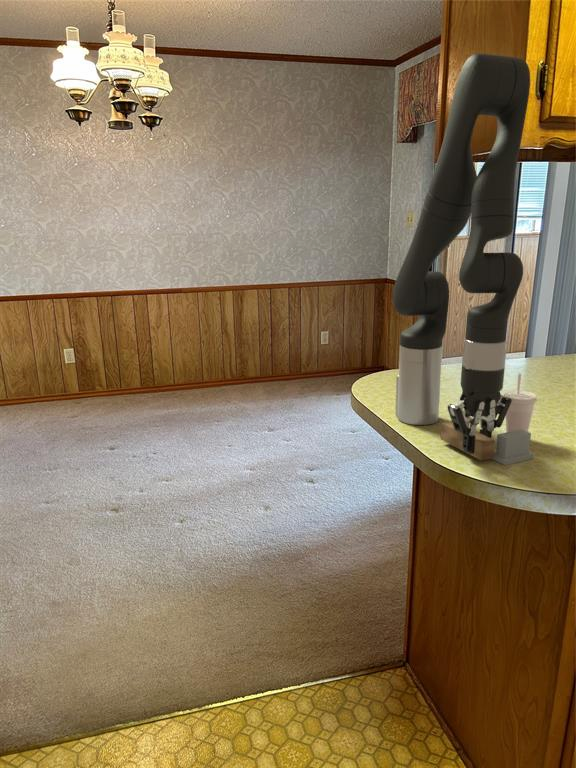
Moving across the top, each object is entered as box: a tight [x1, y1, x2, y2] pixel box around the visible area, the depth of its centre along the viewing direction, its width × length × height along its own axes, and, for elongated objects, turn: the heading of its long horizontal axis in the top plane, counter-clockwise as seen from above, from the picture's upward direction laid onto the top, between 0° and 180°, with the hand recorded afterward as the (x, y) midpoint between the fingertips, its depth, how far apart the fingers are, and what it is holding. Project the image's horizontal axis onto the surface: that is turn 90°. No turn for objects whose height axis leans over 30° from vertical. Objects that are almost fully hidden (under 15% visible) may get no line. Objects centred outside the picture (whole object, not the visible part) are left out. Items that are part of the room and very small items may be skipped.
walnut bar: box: [440, 420, 496, 461], centre depth 118 cm, size 12×3×4 cm, turn 24°
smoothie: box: [503, 372, 538, 433], centre depth 123 cm, size 6×6×14 cm
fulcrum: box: [490, 429, 534, 466], centre depth 115 cm, size 4×7×5 cm, turn 115°
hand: (476, 450), depth 116 cm, fingers closed on walnut bar, 3 cm apart
